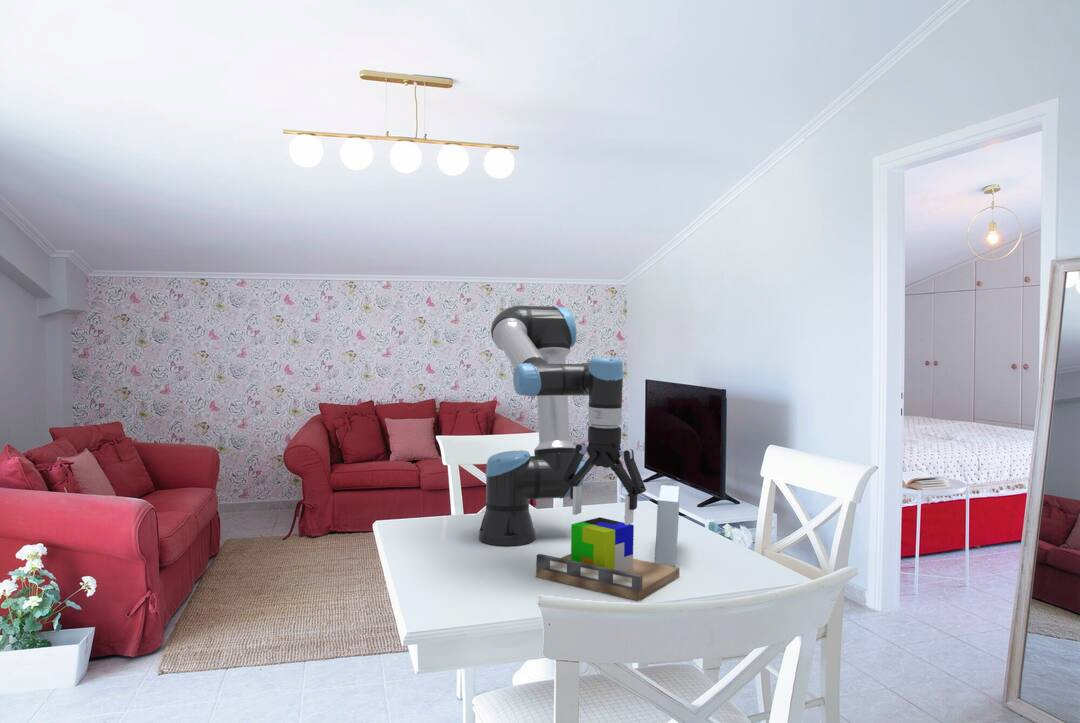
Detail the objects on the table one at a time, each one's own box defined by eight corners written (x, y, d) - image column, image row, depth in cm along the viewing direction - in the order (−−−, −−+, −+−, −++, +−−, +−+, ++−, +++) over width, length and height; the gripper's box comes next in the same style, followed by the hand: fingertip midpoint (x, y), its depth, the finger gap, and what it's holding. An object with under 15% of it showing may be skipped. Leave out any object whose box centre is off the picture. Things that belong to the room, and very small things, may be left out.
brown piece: (535, 577, 167) (536, 555, 166) (582, 556, 183) (582, 536, 183) (639, 601, 152) (639, 577, 152) (679, 576, 168) (679, 554, 168)
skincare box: (677, 567, 176) (678, 501, 175) (654, 566, 177) (655, 500, 176) (678, 544, 196) (679, 485, 196) (657, 543, 197) (659, 484, 197)
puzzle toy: (632, 568, 167) (633, 524, 167) (604, 578, 160) (605, 532, 160) (599, 559, 174) (599, 517, 174) (570, 567, 167) (571, 524, 167)
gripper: (549, 422, 170) (547, 512, 171) (647, 432, 156) (644, 531, 157) (567, 419, 177) (565, 506, 178) (662, 429, 163) (659, 524, 163)
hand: (602, 518), depth 167 cm, fingers open, 13 cm apart
